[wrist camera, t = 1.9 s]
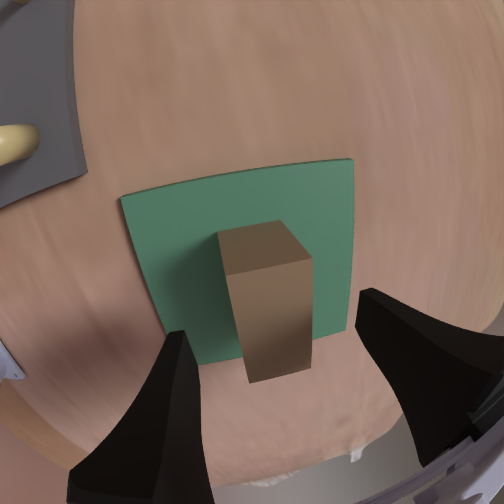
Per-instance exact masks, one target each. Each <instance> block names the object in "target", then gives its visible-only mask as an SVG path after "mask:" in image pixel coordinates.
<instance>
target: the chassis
mask: <svg viewBox="0 0 504 504" xmlns="http://www.w3.org/2000/svg"><path fill="white" fill-rule="evenodd" d="M74 4H75V0H0V208H1V207H3V206H5V205H7V204H9V203H12V202H14V201H16V200H18V199H21V198H23V197H25V196H27V195H30V194H32V193H35V192H37V191H39V190H42V189H44V188H47V187H50V186H52V185H55V184H58V183H60V182H63V181H66V180H69V179H71V178H74V177H77V176H80V175H82V174H84V173H86V172H88V171H87V166H86V161H85V156H84V151H83V146H82V140H81V134H80V128H79V121H78V113H77V105H76V95H75V84H74V68H73V19H74Z"/></svg>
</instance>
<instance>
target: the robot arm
mask: <svg viewBox="0 0 504 504" xmlns="http://www.w3.org/2000/svg"><path fill="white" fill-rule="evenodd" d="M355 328H356V330H357V333H358V335H359V337H360V339H361V341H362V343H363V345H364V346H365V348H366V349H367V351H368V352H369V354H370V355H371V357H372V358H373V360H374V361H375V363H376V364H377V366H378V367H379V369H380V370H381V372H382V373H383V375H384V376H385V378H386V379H387V381H388V382H389V384H390V385H391V387H392V389H393V391H394V393H395V395H396V397H397V399H398V401H399V403H400V405H401V408H402V410H403V412H404V415H405V417H406V419H407V422H408V425H409V428H410V430H411V433H412V436H413V439H414V443H415V446H416V450H417V454H418V458H419V462H420V463H421V465H422V467H423V468H424V467H425V468H424V469H422V470H420V471H419V472H417V473H415V474H414V475H412V476H410V477H409V478H407V479H405V480H403V481H401V482H399V483H398V484H396V485H394V486H392V487H390V488H388V489H386V490H384V491H382V492H380V493H378V494H375V495H373V496H371V497H369V498H367V499H364V500H362V501H360V502H357V503H355V504H391V503H393V502H395V501H397V500H399V499H401V498H402V497H404V496H406V495H408V494H410V493H411V492H413V491H415V490H416V489H418V488H420V487H421V486H423V485H424V484H426V483H427V482H429V481H431V480H432V479H434V478H435V477H436V476H438V475H440V474H441V473H442V472H444V471H445V470H447V469H448V470H447V474H446V476H445V477H444V478H442V479H441V480H439V481H438V482H436V483H434V484H433V485H431V486H430V487H428V488H427V489H425V490H424V491H422V492H420V493H419V494H417V495H416V496H414V498H413V499H414V502H415V504H489V502H490V501H491V499H492V498H493V497H494V496H495V495H496V493H497V492H498V491H499V490H500V488H501V487H502V486H503V485H504V336H495V335H488V334H483V333H478V332H474V331H470V330H466V329H462V328H459V327H456V326H453V325H450V324H448V323H445V322H442V321H440V320H437V319H435V318H433V317H430V316H428V315H426V314H424V313H422V312H420V311H418V310H416V309H414V308H412V307H410V306H408V305H406V304H404V303H402V302H400V301H398V300H396V299H394V298H392V297H390V296H389V295H387V294H385V293H383V292H381V291H379V290H377V289H374V288H368V289H365V290H361V291H360V294H359V302H358V309H357V316H356V323H355ZM3 378H8V379H19V380H24V378H25V374H24V373H23V371H22V370H21V369H20V367H19V366H18V365H17V364H16V362H15V361H14V359H13V358H12V357H11V355H10V354H9V353H8V351H7V350H6V348H5V347H4V345H3V344H2V342H1V341H0V384H1V382H2V380H3ZM449 450H450V451H449ZM448 451H449V452H448ZM445 453H446V454H445ZM444 454H445V455H444ZM442 455H443V456H442ZM441 456H442V457H441ZM439 457H440V458H439ZM438 458H439V459H438ZM436 459H437V460H436ZM435 460H436V461H435ZM433 461H434V462H433ZM432 462H433V463H432ZM430 463H431V464H430ZM429 464H430V465H429ZM427 465H428V466H427ZM426 466H427V467H426ZM66 502H67V504H215V503H214V499H213V495H212V491H211V487H210V482H209V478H208V473H207V468H206V463H205V457H204V451H203V445H202V435H201V397H200V380H199V372H198V364H197V361H196V359H195V356H194V354H193V351H192V349H191V346H190V343H189V341H188V338H187V335H186V332H185V330H179V331H172V332H169V333H168V335H167V337H166V339H165V342H164V344H163V346H162V348H161V351H160V353H159V355H158V357H157V359H156V361H155V363H154V365H153V367H152V369H151V371H150V373H149V375H148V377H147V379H146V381H145V383H144V384H143V386H142V388H141V390H140V391H139V393H138V395H137V396H136V398H135V400H134V401H133V403H132V404H131V406H130V407H129V409H128V410H127V412H126V413H125V415H124V416H123V417H122V418H121V420H120V421H119V422H118V424H117V425H116V426H115V428H114V429H113V430H112V431H111V432H110V434H109V435H108V436H107V437H106V438H105V439H104V440H103V441H102V442H101V443H100V444H99V445H98V446H97V447H96V449H95V450H94V451H93V452H91V453H90V454H89V455H88V456H87V457H86V458H85V459H84V460H82V461H81V462H80V463H79V464H78V465H76V466H75V467H74V468H73V469H71V470H70V472H69V478H68V487H67V500H66Z"/></svg>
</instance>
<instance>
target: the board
mask: <svg viewBox="0 0 504 504" xmlns="http://www.w3.org/2000/svg"><path fill="white" fill-rule="evenodd" d="M120 199H121V203H122V207H123V211H124V214H125V218H126V222H127V225H128V228H129V232H130V235H131V238H132V242H133V245H134V248H135V251H136V254H137V257H138V260H139V263H140V266H141V269H142V272H143V275H144V278H145V280H146V283H147V286H148V289H149V291H150V294H151V297H152V299H153V302H154V305H155V307H156V310H157V312H158V315H159V317H160V320H161V322H162V324H163V327H164V329H165V331H166V334H167V335H168V333H169V332H172V331H179V330H185V332H186V335H187V338H188V341H189V343H190V346H191V349H192V351H193V354H194V356H195V359H196V361H197V364H198V365H202V364H208V363H213V362H219V361H224V360H230V359H235V358H240V357H243V359H244V363H245V368H246V372H247V376H248V380H249V383H254V382H258V381H263V380H267V379H271V378H275V377H279V376H283V375H287V374H291V373H295V372H299V371H302V370H306V369H309V368H311V356H312V340H314V339H318V338H321V337H324V336H328V335H331V334H334V333H338V332H341V331H344V330H346V323H347V314H348V306H349V296H350V285H351V273H352V258H353V238H354V160H353V159H350V158H345V159H332V160H321V161H310V162H301V163H292V164H284V165H276V166H268V167H261V168H254V169H248V170H241V171H235V172H229V173H223V174H218V175H212V176H207V177H202V178H197V179H192V180H187V181H182V182H177V183H172V184H168V185H163V186H159V187H155V188H151V189H146V190H142V191H138V192H134V193H130V194H127V195H123V196H122V197H121V198H120Z"/></svg>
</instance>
